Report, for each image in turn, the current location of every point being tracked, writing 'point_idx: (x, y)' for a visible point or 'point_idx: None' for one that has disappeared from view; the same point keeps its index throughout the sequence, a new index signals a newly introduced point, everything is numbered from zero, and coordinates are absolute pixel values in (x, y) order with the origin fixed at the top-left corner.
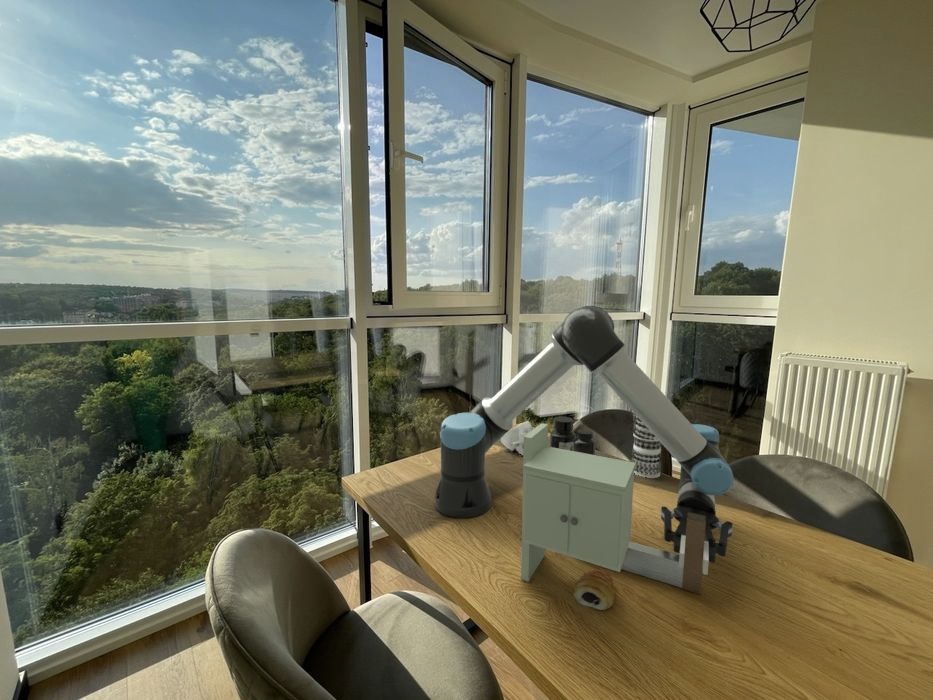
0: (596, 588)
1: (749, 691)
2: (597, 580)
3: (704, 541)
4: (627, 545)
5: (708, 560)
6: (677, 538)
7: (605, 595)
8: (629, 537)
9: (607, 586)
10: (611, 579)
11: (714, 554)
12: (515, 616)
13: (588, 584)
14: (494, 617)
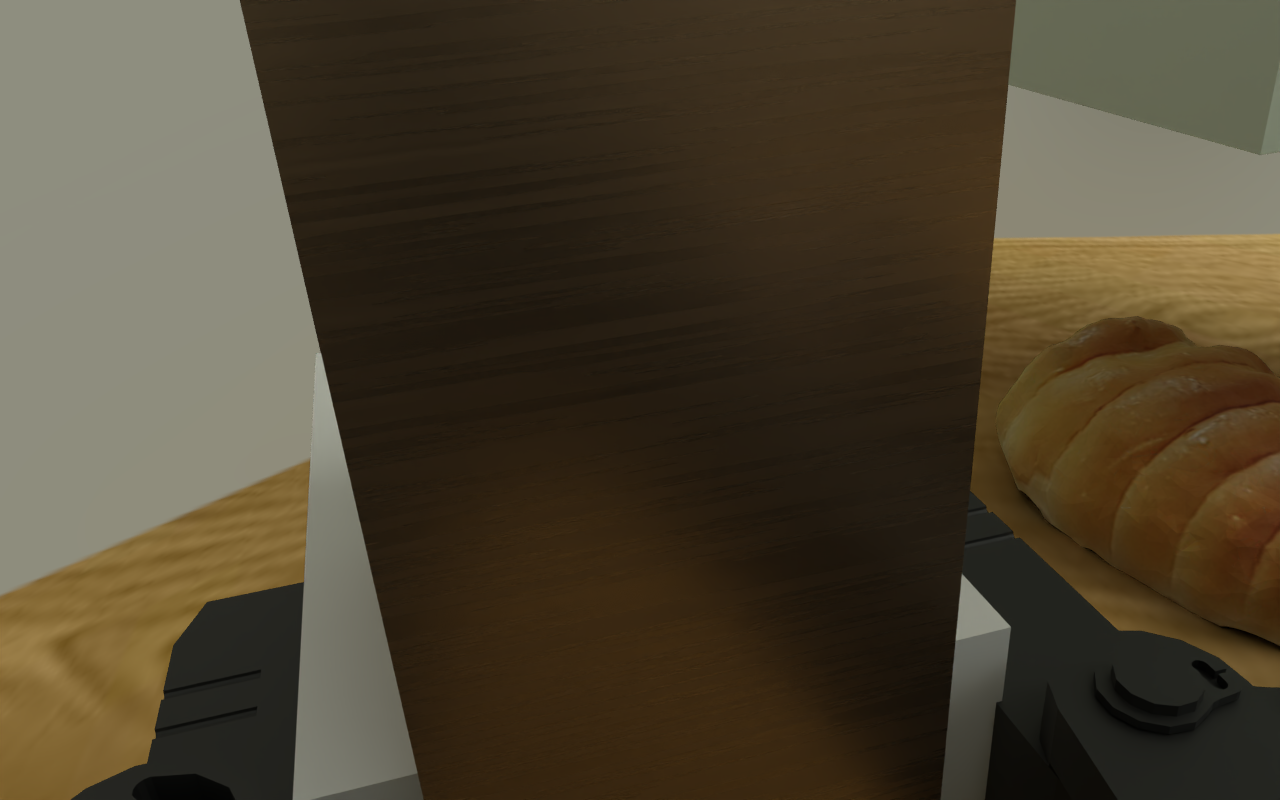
0: (1106, 347)
1: (190, 514)
2: (1175, 371)
3: (405, 735)
4: (1100, 75)
5: (318, 359)
6: (1027, 619)
7: (1041, 382)
8: (1200, 70)
9: (1102, 407)
10: (1217, 535)
11: (200, 630)
12: (1197, 272)
13: (1172, 345)
14: (1227, 243)
